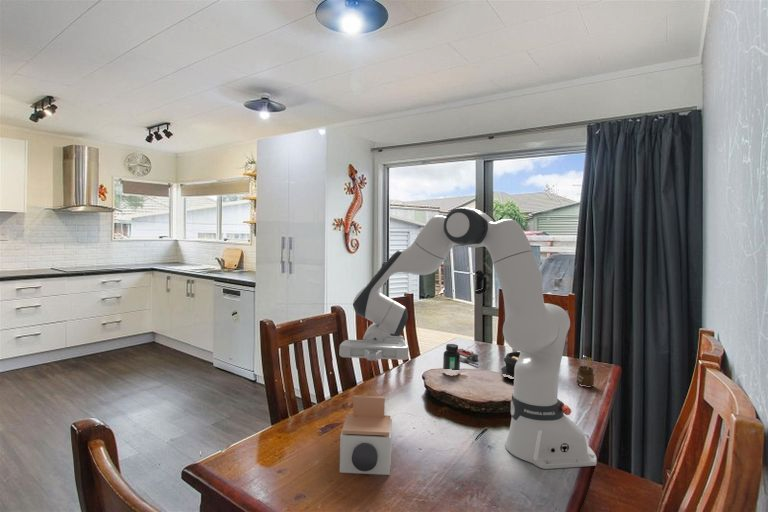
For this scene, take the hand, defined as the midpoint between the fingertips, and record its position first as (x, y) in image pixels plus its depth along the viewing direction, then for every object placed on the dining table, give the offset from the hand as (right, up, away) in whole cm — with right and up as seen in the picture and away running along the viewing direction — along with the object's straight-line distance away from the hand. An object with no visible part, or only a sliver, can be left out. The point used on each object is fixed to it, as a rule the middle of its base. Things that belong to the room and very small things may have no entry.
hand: (372, 357), depth 115 cm
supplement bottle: (+31, -21, +57) cm, 68 cm away
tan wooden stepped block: (-1, -14, -12) cm, 19 cm away
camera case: (-1, -23, -12) cm, 26 cm away
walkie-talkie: (+42, -21, +77) cm, 90 cm away
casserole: (+61, -22, +56) cm, 86 cm away
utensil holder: (+82, -23, +47) cm, 97 cm away
